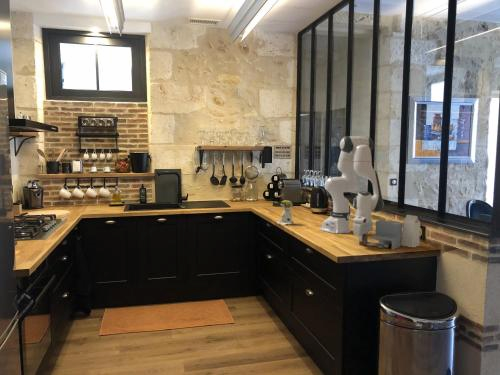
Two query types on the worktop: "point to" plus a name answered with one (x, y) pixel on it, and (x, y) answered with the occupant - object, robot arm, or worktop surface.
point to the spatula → (364, 242)
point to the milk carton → (411, 231)
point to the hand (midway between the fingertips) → (363, 240)
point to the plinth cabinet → (389, 233)
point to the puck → (380, 246)
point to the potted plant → (286, 213)
